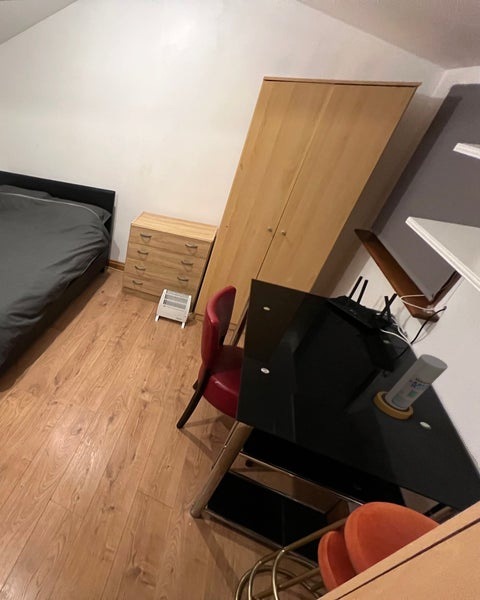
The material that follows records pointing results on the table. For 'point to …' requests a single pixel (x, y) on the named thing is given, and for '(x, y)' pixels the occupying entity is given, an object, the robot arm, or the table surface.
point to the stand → (391, 407)
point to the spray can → (415, 381)
